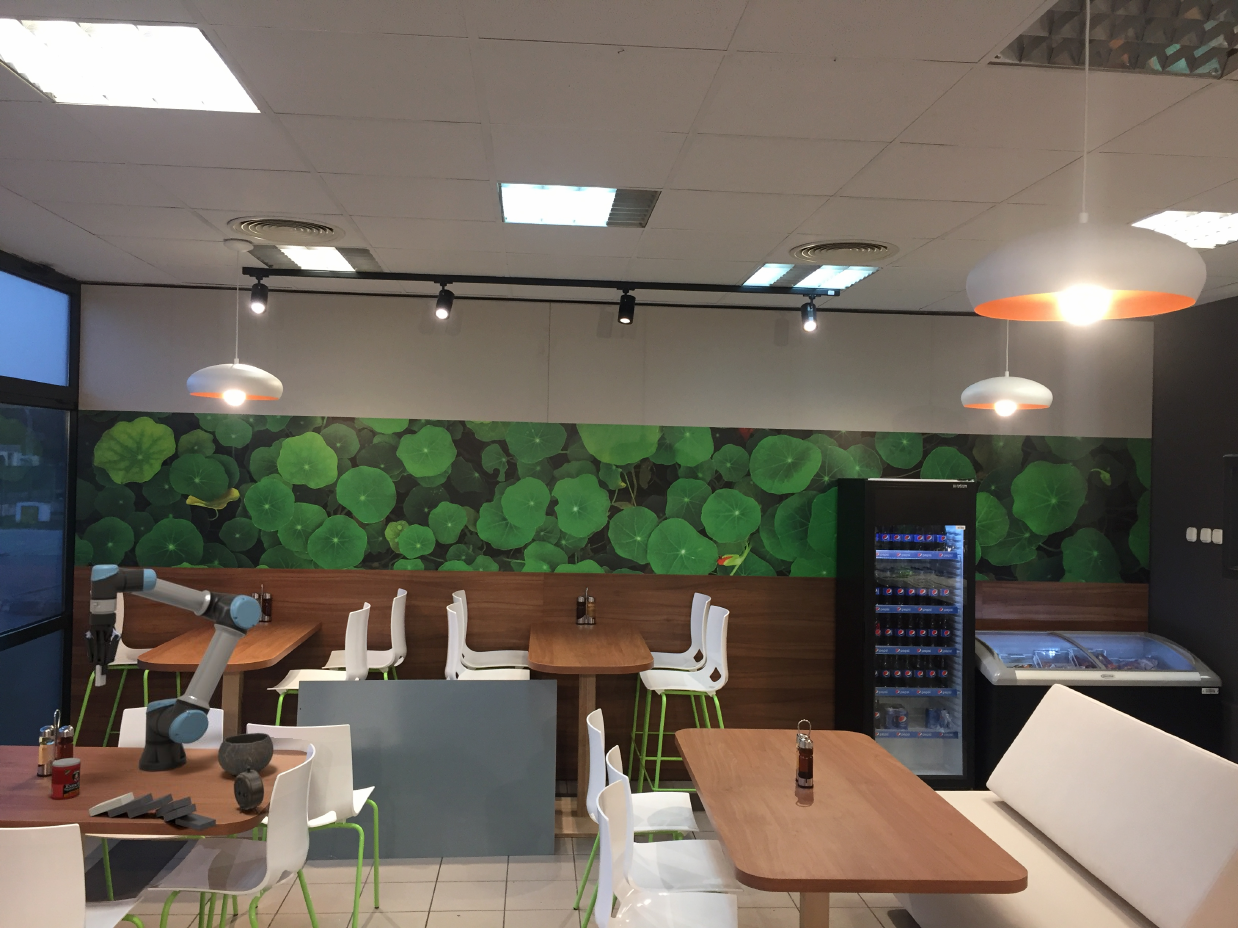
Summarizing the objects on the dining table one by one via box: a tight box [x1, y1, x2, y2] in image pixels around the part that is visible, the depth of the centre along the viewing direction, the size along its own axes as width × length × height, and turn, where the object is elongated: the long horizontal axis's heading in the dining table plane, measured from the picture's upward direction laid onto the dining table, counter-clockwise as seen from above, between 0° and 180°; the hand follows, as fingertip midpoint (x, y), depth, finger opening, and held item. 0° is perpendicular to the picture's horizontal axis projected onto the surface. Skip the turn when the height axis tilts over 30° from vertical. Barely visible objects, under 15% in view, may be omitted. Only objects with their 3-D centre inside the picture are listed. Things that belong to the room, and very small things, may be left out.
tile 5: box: [162, 803, 198, 823], centre depth 255 cm, size 2×5×11 cm
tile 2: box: [106, 792, 154, 818], centre depth 261 cm, size 2×5×11 cm
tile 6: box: [175, 812, 217, 832], centre depth 254 cm, size 2×5×11 cm
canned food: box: [50, 757, 82, 801], centre depth 278 cm, size 8×8×11 cm
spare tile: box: [88, 791, 135, 817], centre depth 262 cm, size 2×5×11 cm
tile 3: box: [126, 793, 174, 819], centre depth 261 cm, size 2×5×11 cm
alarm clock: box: [233, 758, 265, 815], centre depth 266 cm, size 11×5×16 cm, turn 50°
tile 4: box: [154, 796, 193, 818], centre depth 259 cm, size 2×5×11 cm
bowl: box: [217, 732, 275, 777], centre depth 303 cm, size 18×18×13 cm
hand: (100, 684), depth 283 cm, fingers closed
